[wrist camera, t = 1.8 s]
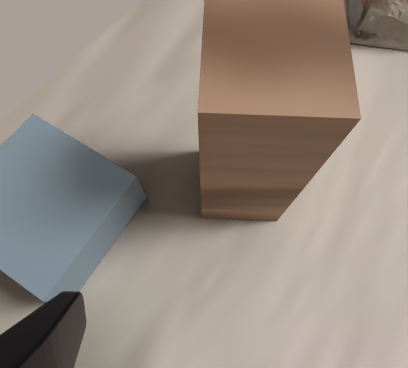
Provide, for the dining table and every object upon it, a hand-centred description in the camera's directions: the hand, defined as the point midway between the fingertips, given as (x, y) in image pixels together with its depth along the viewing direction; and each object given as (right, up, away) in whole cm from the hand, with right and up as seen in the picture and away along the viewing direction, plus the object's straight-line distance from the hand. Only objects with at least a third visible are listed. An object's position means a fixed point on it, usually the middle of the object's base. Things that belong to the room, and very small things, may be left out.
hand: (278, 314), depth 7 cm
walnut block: (+1, +3, +15) cm, 16 cm away
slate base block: (-11, +1, +15) cm, 19 cm away
